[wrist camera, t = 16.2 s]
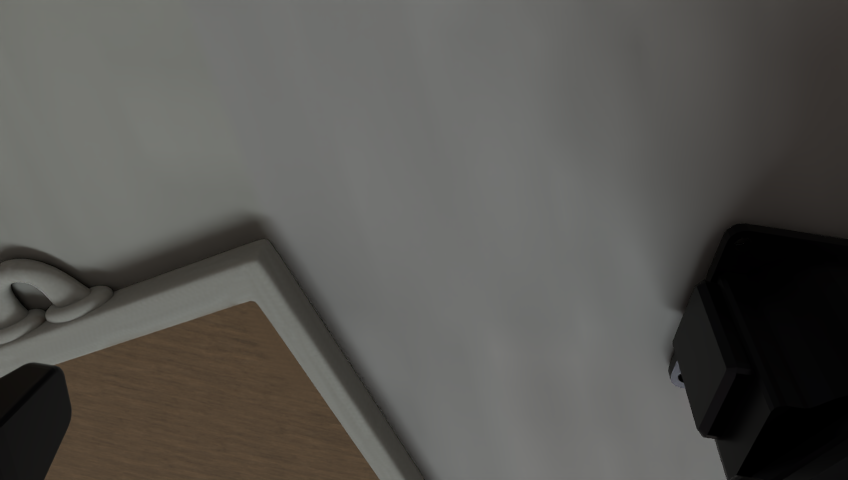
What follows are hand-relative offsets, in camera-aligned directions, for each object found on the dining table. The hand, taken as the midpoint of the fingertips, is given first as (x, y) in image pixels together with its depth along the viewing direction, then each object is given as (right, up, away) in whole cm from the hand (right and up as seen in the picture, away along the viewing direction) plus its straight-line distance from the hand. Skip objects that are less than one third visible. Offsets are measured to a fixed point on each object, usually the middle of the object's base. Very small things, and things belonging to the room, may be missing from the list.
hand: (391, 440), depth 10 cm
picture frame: (-8, -9, +23) cm, 27 cm away
